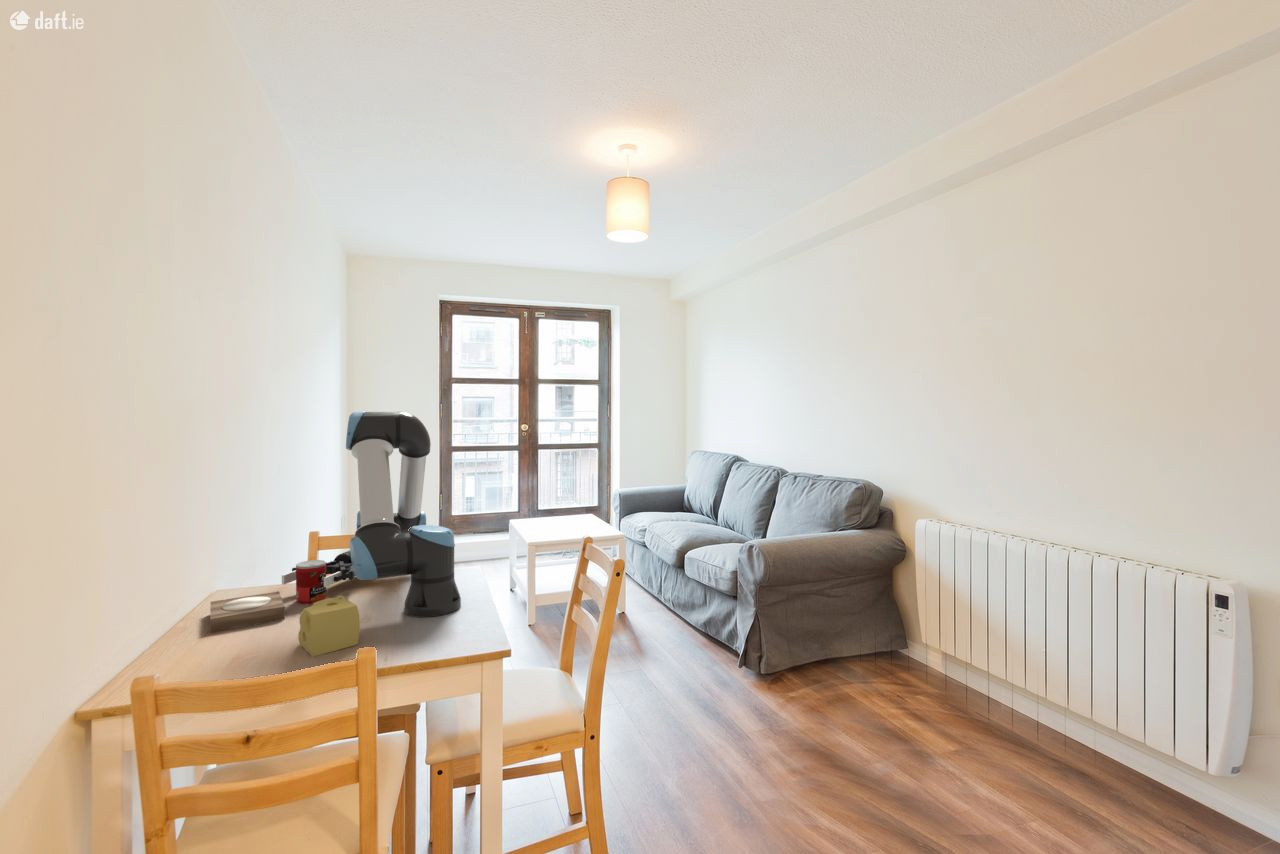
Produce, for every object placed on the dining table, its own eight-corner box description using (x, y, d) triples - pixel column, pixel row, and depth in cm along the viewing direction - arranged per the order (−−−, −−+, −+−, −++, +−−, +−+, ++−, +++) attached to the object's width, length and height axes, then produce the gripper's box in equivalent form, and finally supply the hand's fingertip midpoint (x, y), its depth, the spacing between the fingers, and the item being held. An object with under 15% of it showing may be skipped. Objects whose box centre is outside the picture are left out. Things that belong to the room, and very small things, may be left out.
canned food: (313, 605, 167) (313, 567, 167) (289, 603, 169) (289, 565, 169) (332, 596, 175) (332, 560, 175) (309, 595, 176) (309, 559, 176)
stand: (284, 619, 156) (284, 605, 156) (210, 632, 146) (210, 617, 146) (279, 603, 169) (278, 590, 169) (210, 614, 159) (210, 600, 159)
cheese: (298, 645, 139) (297, 604, 139) (346, 633, 147) (345, 594, 146) (310, 658, 132) (310, 615, 131) (360, 645, 139) (360, 604, 139)
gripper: (386, 575, 188) (342, 596, 167) (316, 571, 192) (265, 591, 171) (385, 552, 188) (342, 570, 167) (316, 549, 192) (265, 566, 171)
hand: (303, 581), depth 169 cm, fingers open, 13 cm apart
